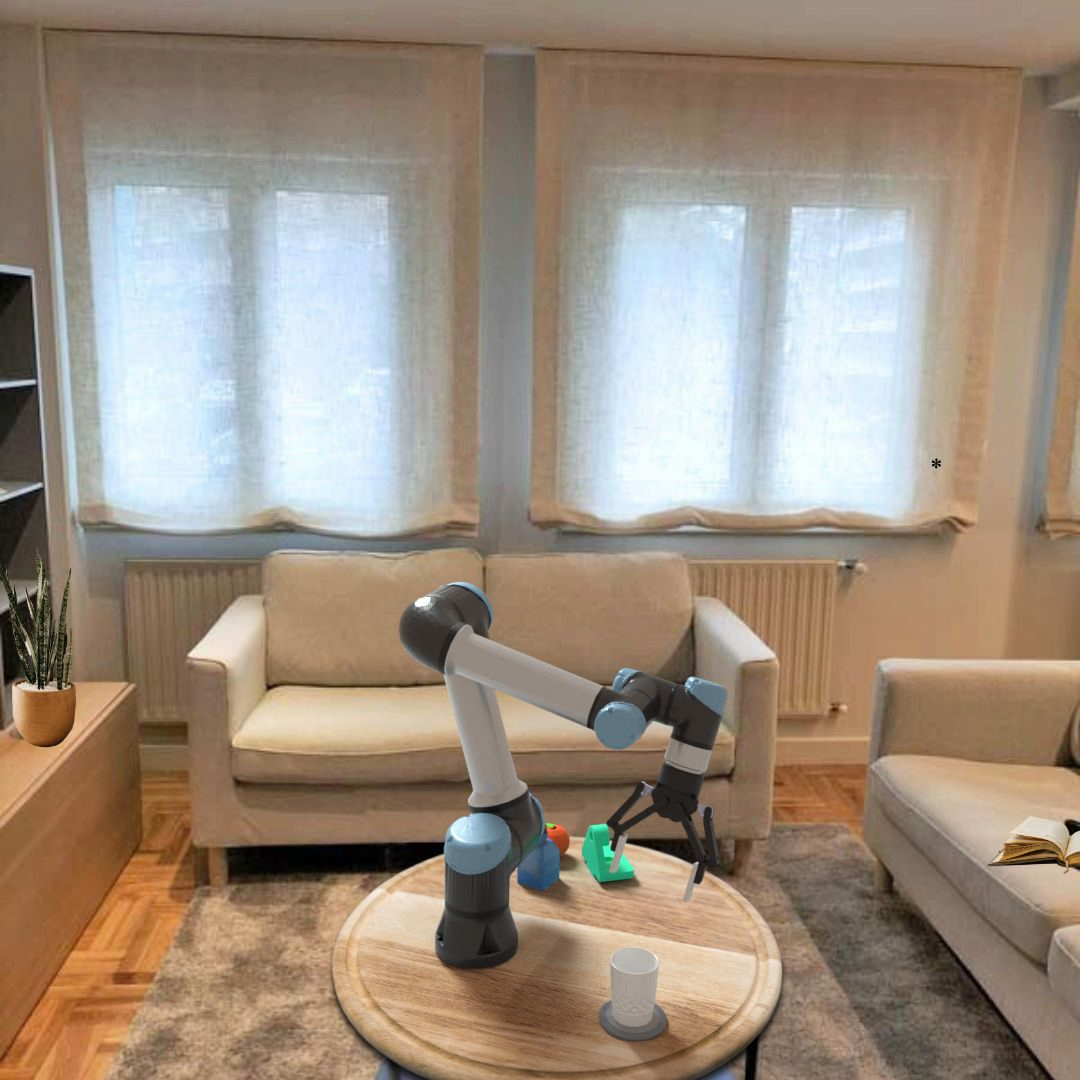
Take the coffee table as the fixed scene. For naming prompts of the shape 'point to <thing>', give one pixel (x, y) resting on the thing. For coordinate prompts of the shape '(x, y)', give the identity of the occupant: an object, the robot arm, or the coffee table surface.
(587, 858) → the camera mount
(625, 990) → the white cup
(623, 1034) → the coaster
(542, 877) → the perfume bottle
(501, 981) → the coffee table surface
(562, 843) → the clementine
